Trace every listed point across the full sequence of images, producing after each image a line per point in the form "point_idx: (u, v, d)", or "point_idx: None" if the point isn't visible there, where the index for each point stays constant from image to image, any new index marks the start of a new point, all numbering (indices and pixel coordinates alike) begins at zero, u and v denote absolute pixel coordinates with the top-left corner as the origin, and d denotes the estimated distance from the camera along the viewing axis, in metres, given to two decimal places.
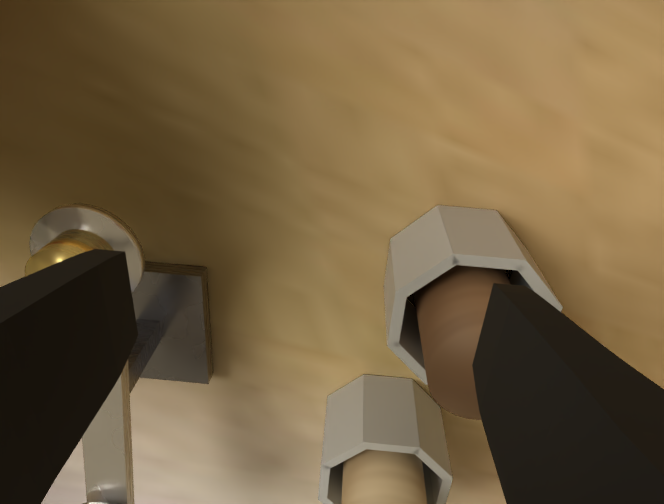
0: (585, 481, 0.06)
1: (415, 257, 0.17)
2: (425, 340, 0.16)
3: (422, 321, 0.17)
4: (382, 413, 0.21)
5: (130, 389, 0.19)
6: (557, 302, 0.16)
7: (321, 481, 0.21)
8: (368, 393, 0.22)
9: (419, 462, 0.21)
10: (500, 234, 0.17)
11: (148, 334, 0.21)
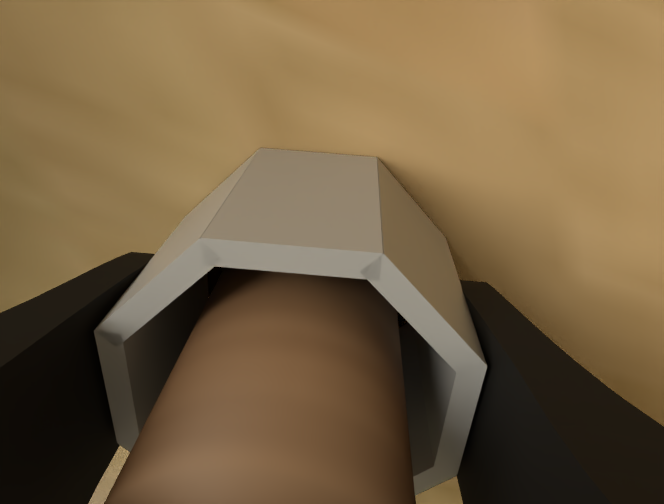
0: (523, 475, 0.06)
1: (167, 251, 0.08)
2: None
3: None
4: None
5: None
6: (473, 355, 0.07)
7: None
8: None
9: None
10: (355, 197, 0.08)
11: None
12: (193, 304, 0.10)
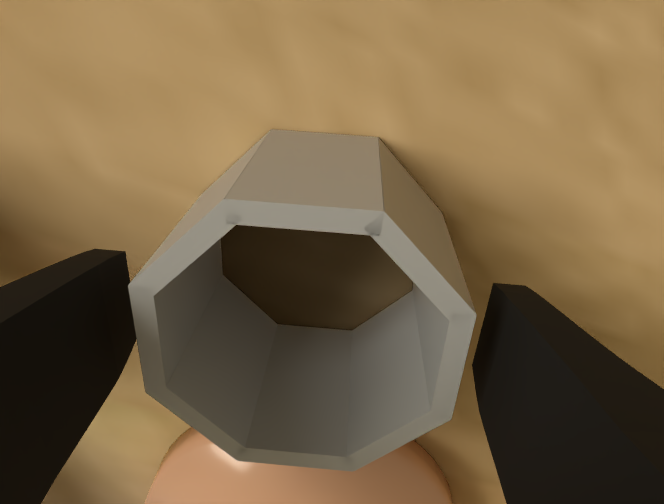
0: (585, 481, 0.06)
1: (190, 218, 0.09)
2: None
3: None
4: None
5: None
6: (464, 304, 0.08)
7: None
8: None
9: None
10: (358, 169, 0.09)
11: None
12: (209, 274, 0.11)
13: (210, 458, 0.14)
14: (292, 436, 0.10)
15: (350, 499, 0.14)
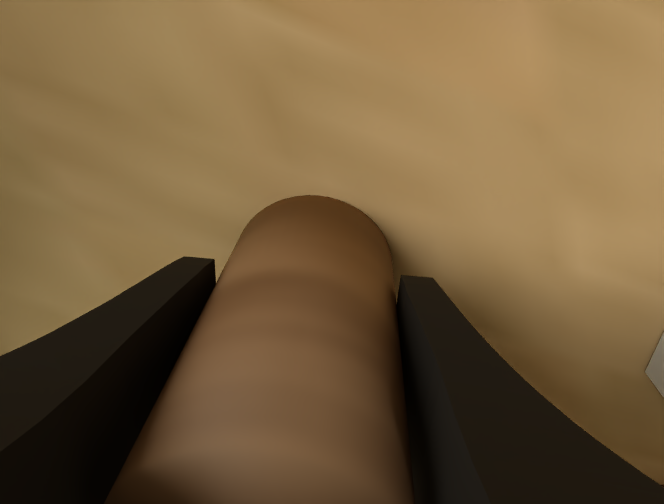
0: (437, 467, 0.06)
1: None
2: None
3: None
4: None
5: None
6: None
7: None
8: None
9: None
10: None
11: None
12: None
13: None
14: None
15: None
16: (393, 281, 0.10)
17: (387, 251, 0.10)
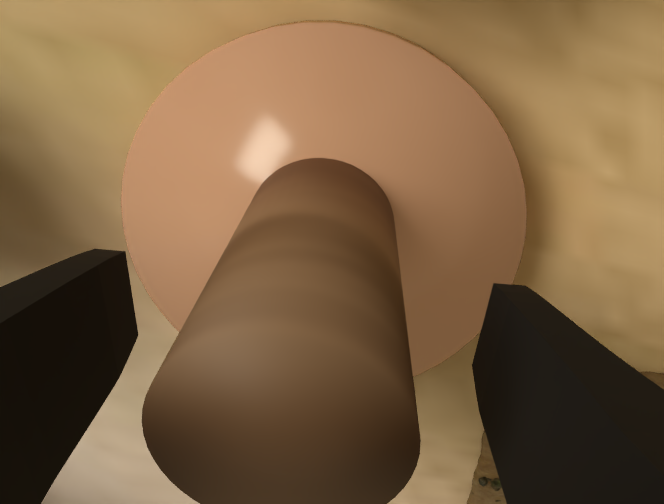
0: (585, 481, 0.06)
1: None
2: None
3: None
4: None
5: None
6: None
7: None
8: None
9: None
10: None
11: None
12: None
13: (206, 83, 0.11)
14: None
15: (389, 151, 0.11)
16: (391, 223, 0.11)
17: (383, 198, 0.11)
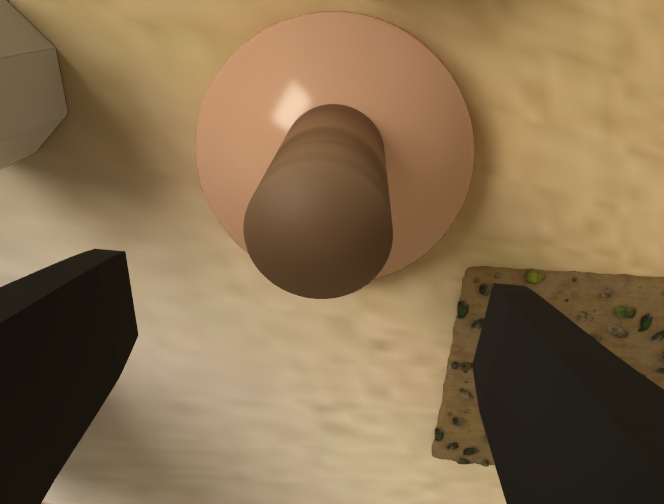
0: (585, 481, 0.06)
1: None
2: None
3: None
4: None
5: None
6: None
7: None
8: None
9: None
10: None
11: None
12: None
13: (259, 52, 0.16)
14: None
15: (380, 99, 0.16)
16: (381, 145, 0.16)
17: (376, 130, 0.16)
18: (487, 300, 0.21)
